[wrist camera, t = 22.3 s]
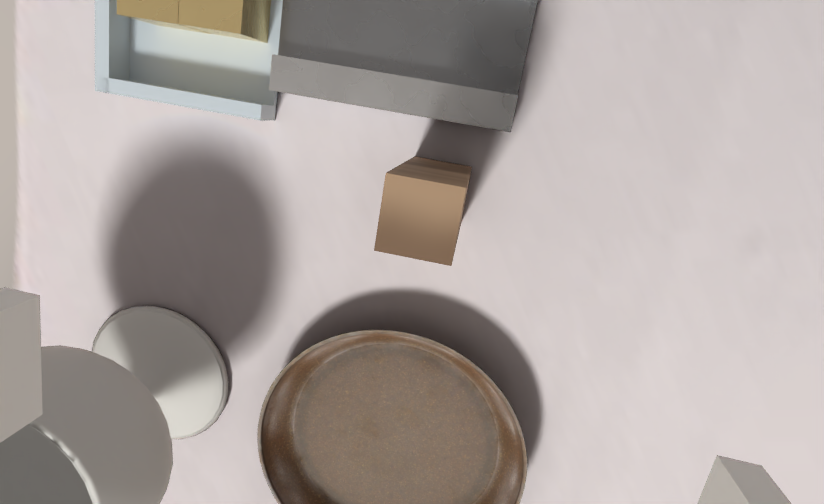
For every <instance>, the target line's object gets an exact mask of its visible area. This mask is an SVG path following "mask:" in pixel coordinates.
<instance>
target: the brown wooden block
mask: <svg viewBox="0 0 824 504" xmlns="http://www.w3.org/2000/svg"><path fill="white" fill-rule="evenodd" d="M471 170H472V167H471V166H465V165H460V164H454V163H449V162H443V161H438V160H432V159H427V158H421V157H416V156H415V157H413V158H411V159H410V160H408V161H406V162H404V163H403V164H401V165H399V166H397V167H396V168H394V169H392V170H390V171H389V172H387V173H386V176H385V182H384V189H383V196H382V202H381V209H380V215H379V222H378V229H377V235H376V242H375V249H374V251H379V252H384V253H389V254H394V255H399V256H404V257H409V258H414V259H419V260H424V261H429V262H434V263H439V264H444V265H450V266H451V265H452V261H453V256H454V252H455V247H456V243H457V239H458V234H459V230H460V226H461V221H462V216H463V211H464V206H465V200H466V195H467V190H468V185H469V180H470V175H471Z"/></svg>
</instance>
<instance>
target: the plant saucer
mask: <svg viewBox="0 0 824 504" xmlns="http://www.w3.org/2000/svg"><path fill="white" fill-rule="evenodd" d="M258 452H259V458H260V463H261V466H262V470H263V473H264V477H265V479H266V481H267V484H268V486H269V488H270V490H271V492H272V494H273V496H274V498H275V499H276V501H277V503H278V504H519V503H520V501H521V498H522V494H523V491H524V487H525V481H526V475H527V453H526V446H525V441H524V437H523V433H522V430H521V427H520V424H519V422H518V419H517V417H516V415H515V413H514V411H513V409H512V407H511V405H510V403H509V402H508V400H507V399H506V397H505V396H504V394H503V393H502V392H501V390H500V389H499V388H498V386H497V385H496V384H495V383H494V382H493V381H492V379H491V378H490V377H489V376H488V375H487V374H486V373H485V372H484V371H482V370H481V369H480V368H479V367H478V366H477V365H475V364H474V363H473V362H472V361H470V360H469V359H467V358H466V357H464V356H463V355H461V354H460V353H458V352H456V351H455V350H453V349H451V348H449V347H447V346H445V345H443V344H441V343H438V342H436V341H434V340H431V339H428V338H425V337H422V336H419V335H415V334H410V333H406V332H400V331H391V330H362V331H354V332H349V333H344V334H340V335H337V336H334V337H331V338H328V339H326V340H323V341H321V342H319V343H317V344H315V345H313V346H311V347H310V348H308V349H306V350H305V351H303V352H302V353H300V354H299V355H298V356H297V357H295V358H294V359H293V360H292V361H291V362H290V363H289V364H288V365H287V366H286V367H285V368H284V369H283V370H282V371H281V372H280V374H279V375H278V376H277V378H276V379H275V381H274V382H273V384H272V385H271V387H270V389H269V391H268V393H267V395H266V398H265V400H264V403H263V405H262V409H261V413H260V418H259V424H258Z"/></svg>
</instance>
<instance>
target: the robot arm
mask: <svg viewBox="0 0 824 504" xmlns="http://www.w3.org/2000/svg"><path fill="white" fill-rule="evenodd" d="M42 414H43V412H42V371H41V329H40V295H36V294H32V293H27V292H23V291H19V290H15V289H10V288H6V287H4V288H1V289H0V443H1V442H2V441H4V440H5V439H7V438H8V437H10V436H11V435H13V434H14V433H16V432H17V431H19V430H20V429H22V428H23V427H25V426H26V425H28V424H29V423H31V422H32V421H33V420H35V419H36V418H38V417H39V416H41V415H42ZM698 504H791V502H790V501H789V500H788V499H787V497H786V496H785V495H784V493H783V492H782V491H781V490H780V488H779V487H778V486H777V485H776V483H775V482H774V481H773V479H772V478H771V477H770V476H769V474H768V473H767V472H766V470H765V469H764V468H763V467H762V466H761V465H756V464H752V463H748V462H744V461H739V460H735V459H731V458H727V457H722V456H718V455H717V457H716V459H715V461H714V464H713V466H712V469H711V471H710V474H709V476H708V479H707V481H706V484H705V486H704V489H703V491H702V494H701V496H700V499H699V501H698Z"/></svg>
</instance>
